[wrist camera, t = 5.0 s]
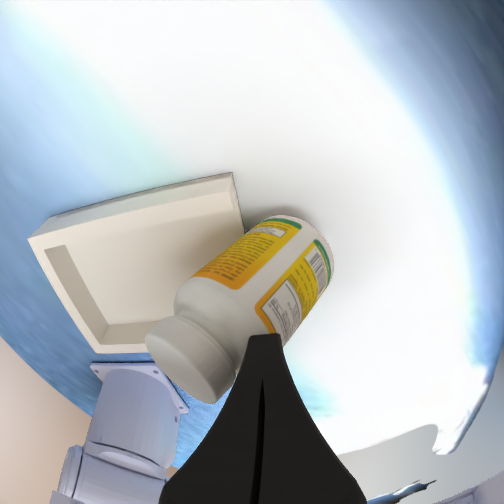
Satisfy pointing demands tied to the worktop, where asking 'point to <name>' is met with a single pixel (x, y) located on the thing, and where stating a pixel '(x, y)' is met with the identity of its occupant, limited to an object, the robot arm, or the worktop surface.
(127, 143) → the worktop surface
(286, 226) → the supplement bottle
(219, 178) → the tray
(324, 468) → the robot arm
